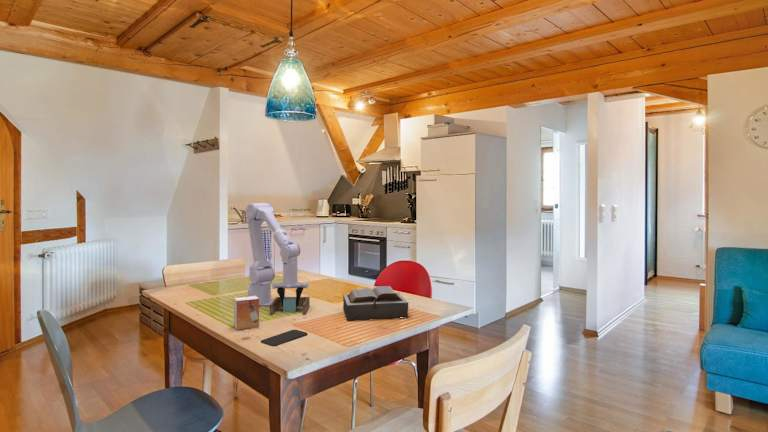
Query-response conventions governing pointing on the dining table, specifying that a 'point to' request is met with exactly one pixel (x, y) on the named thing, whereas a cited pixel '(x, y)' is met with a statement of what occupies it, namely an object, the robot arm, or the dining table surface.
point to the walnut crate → (303, 303)
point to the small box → (246, 312)
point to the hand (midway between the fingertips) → (290, 305)
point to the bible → (374, 304)
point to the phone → (284, 337)
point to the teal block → (289, 304)
